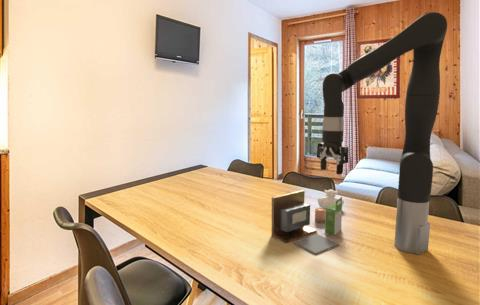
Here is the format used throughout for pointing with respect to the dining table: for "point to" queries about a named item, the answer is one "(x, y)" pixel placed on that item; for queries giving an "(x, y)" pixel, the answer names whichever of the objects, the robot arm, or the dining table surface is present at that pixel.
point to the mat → (316, 244)
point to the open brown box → (290, 217)
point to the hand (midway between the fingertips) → (331, 171)
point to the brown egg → (320, 215)
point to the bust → (329, 199)
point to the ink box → (333, 218)
